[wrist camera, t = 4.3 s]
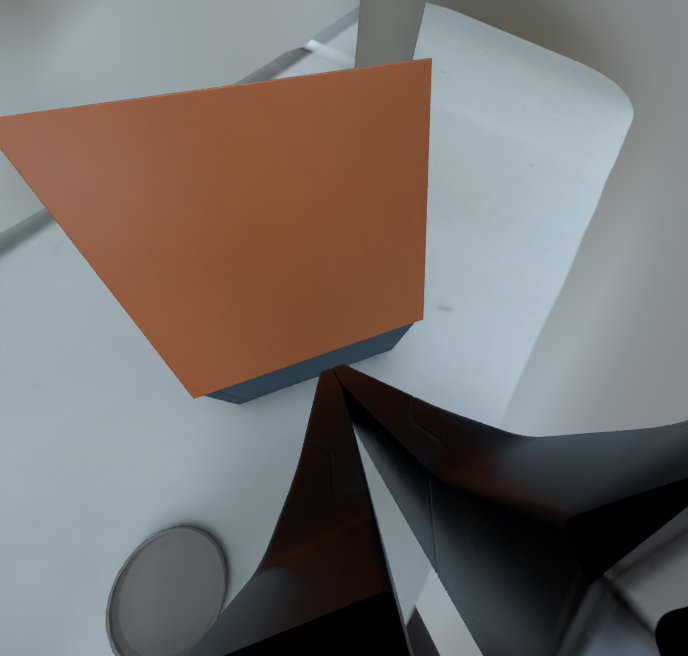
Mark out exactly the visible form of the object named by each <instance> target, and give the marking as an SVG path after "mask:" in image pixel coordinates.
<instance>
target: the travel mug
mask: <svg viewBox="0 0 688 656" xmlns="http://www.w3.org/2000/svg"><path fill="white" fill-rule="evenodd" d="M425 4H426V0H360V8H359V21H358V34H357V46H356V59H355V68H361V67H369V66H376V65H383V64H391V63H398V62H405V61H412V59H413V55H414V51H415V46H416V42H417V38H418V34H419V29H420V25H421V21H422V17H423V12H424V8H425Z"/></svg>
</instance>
